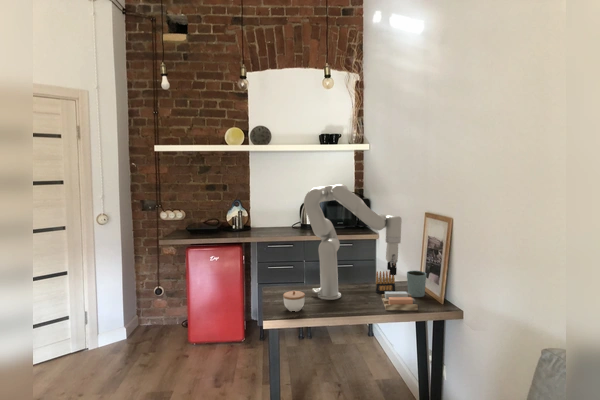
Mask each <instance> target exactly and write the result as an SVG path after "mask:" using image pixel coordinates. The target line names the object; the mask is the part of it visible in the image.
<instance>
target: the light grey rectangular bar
mask: <svg viewBox="0 0 600 400" xmlns="http://www.w3.org/2000/svg"><path fill="white" fill-rule="evenodd" d="M384 294H385V298H389V297H410V294H409V293H408V291H395V292H384Z"/></svg>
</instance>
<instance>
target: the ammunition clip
mask: <svg viewBox="0 0 600 400" xmlns="http://www.w3.org/2000/svg"><path fill="white" fill-rule="evenodd" d="M395 281H396V280H395V275H390V270H386V271H384V270H383V271H381V270H380V271H379V272H378V270H377V271H376V275H375V293H376V294H377V293H378V294H379V293H380V294H381V293H384V294H385V292H396V282H395Z"/></svg>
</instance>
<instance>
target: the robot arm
mask: <svg viewBox="0 0 600 400" xmlns="http://www.w3.org/2000/svg"><path fill="white" fill-rule="evenodd" d="M330 201H336V202H338V203H339V204H340V205H342V206H343V207H344V208H346V209H347V210H348V211H350V212H351V213H352V214H353V215H354V217H355V216H356V217H357V218H358V219H359V220H360V221H361V222H363V223H364V224H365V225H366V226H368V227H370V229H372V230H374V231H377V232H378V231H382V230H383V229H385V243H386V251H385V260H386V263H387V265H386V268H387V270H386V271H390V275H391V276H392V275H394V276H397V267H398V266H397V263H398V260H399V244H402V243H401V239H402V237H401V236H402V223H403V222H402V217H401V216H400V215H392V214H391V215H387V214H381V213H376V212H375V211H373V210H372V209H371V208H370V207H369V206H367V204H366V203H365V202H364V200H363V199H362V198H361V197H359V196H358V195H357V194H355V193H353V192H352V191H351V190H349V188H348V186H347V185H345V184H342V183H338V184H333V185H323V186H316V187H313V188H311V189H310V190H309V191H307V193H306V194H305V197H304V199H303V206H304V210H305V213H306V216H307V218H308V221H309V225H310V226H311V229H312V232H313V234H314V236H316V237H317V238H320V240H321V241H320V243H319V245H318V259H319V276H320V277H319V278H320V279H319V280H320V282H319V283H320V287H318V288H312V289H311V290H312V293H314V294H317V298H319V299H321V300H327V301H331V300H332V301H333V300H338V299H340V298H341V297H342V293H341V292H339V279H338V278H339V273H338V272H339V270H338V255H337V252H338V250H339V249H340V246H341V245H340V244H341V243H340V239H339V238H338V235H337V231H336V229H335V227H334V224H333V223H332V221H331V220H330V219H328V218H327V217H325V214H324V212H323V210H322V208H321V203H322V202H330Z"/></svg>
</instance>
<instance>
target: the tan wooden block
mask: <svg viewBox="0 0 600 400" xmlns="http://www.w3.org/2000/svg"><path fill="white" fill-rule="evenodd" d="M412 298H413V297H412V296H411V297H389V304H416V300H415V298H413V299H412Z"/></svg>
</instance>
